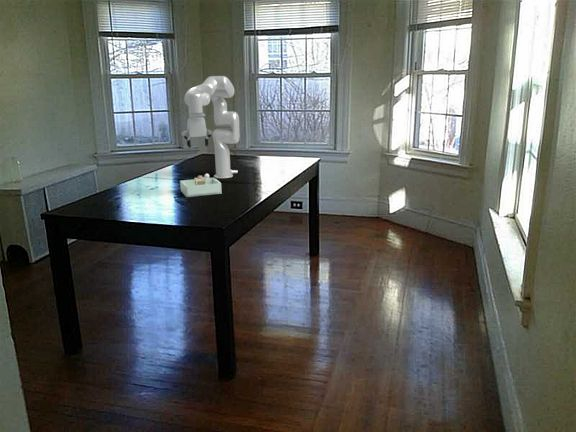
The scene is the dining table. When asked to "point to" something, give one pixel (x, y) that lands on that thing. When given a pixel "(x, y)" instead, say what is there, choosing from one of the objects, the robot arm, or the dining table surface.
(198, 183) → the drawer
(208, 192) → the bin
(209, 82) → the robot arm
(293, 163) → the dining table surface
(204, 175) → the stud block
